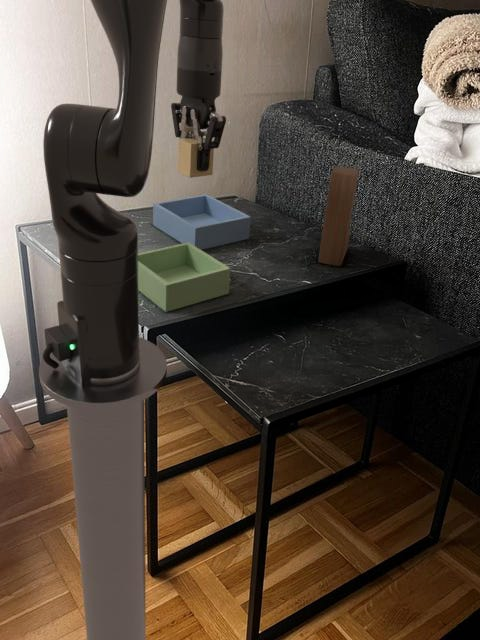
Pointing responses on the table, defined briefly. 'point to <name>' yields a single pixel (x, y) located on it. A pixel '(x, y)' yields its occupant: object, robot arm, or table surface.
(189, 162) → the block
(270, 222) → the table surface
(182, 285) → the green tote
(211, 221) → the blue tote
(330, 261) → the wooden block
